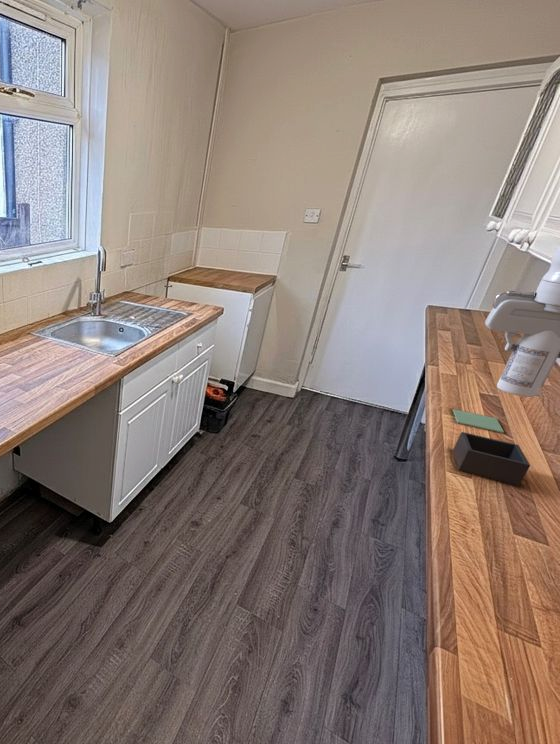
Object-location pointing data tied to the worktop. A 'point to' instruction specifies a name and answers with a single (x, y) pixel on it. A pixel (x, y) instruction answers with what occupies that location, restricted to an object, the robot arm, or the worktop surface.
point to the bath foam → (530, 364)
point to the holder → (490, 458)
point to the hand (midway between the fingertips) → (534, 354)
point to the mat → (477, 420)
